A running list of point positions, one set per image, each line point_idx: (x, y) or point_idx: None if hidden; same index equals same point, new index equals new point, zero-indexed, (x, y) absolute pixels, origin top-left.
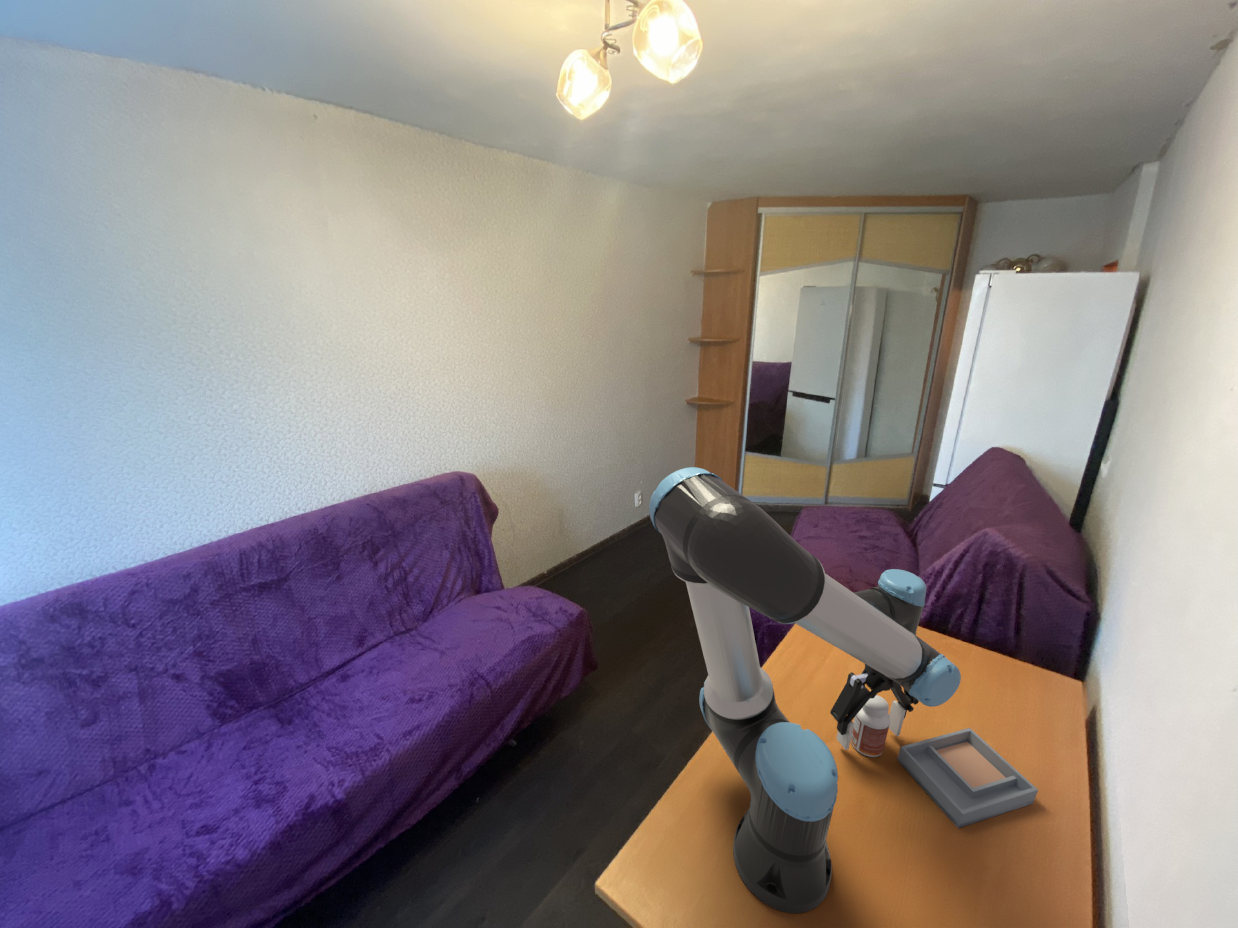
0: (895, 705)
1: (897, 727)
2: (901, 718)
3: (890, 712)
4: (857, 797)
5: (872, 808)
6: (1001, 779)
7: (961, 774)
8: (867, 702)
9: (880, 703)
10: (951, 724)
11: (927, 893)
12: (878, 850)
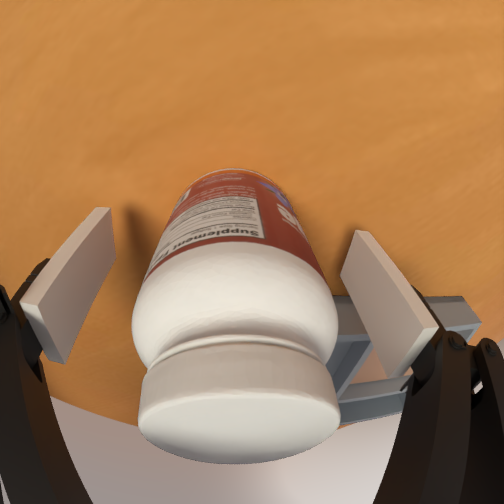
0: (407, 340)
1: (354, 297)
2: (374, 343)
3: (387, 279)
4: (96, 324)
5: (116, 347)
6: (395, 391)
7: (365, 362)
8: (168, 431)
9: (267, 446)
10: (486, 257)
11: (131, 415)
12: (92, 379)
